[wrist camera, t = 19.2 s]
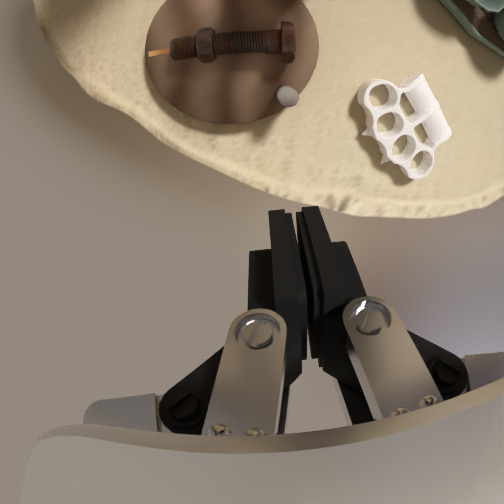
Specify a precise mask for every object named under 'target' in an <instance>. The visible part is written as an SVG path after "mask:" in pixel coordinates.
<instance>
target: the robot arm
mask: <svg viewBox="0 0 504 504" xmlns="http://www.w3.org/2000/svg"><path fill="white" fill-rule="evenodd" d="M268 213H269V226H270V239H271V249H265V250H255V251H250V252H249V279H248V311H246V312H244V313H242V314H241V315H239V316H237V318H235V320H234V321H233V322H232V324H231V325H230V328H229V331H228V334H227V338H226V342H225V346H224V347H222V348H221V349H220V350H219V351H218V352H216V353H215V354H214V355H213V356H211V357H210V358H209V359H208V360H206V361H205V362H204V363H203V364H201V365H200V366H199V367H198V368H196V369H195V370H194V371H193V372H191V373H190V374H189V375H187V376H186V377H185V378H184V379H182V380H181V381H180V382H178V383H177V384H176V385H174V386H173V387H172V388H171V389H169V390H168V391H167V393H165V394H164V395H158V396H157V395H156V394H155V393H152V394H146V395H139V396H131V397H123V398H114V399H105V400H99V401H95V402H93V403H92V404H91V405H90V406H89V407H88V408H87V410H86V411H85V415H84V421H83V424H75V425H65V426H61V427H57V428H54V429H51V430H49V431H47V432H44V433H43V434H41V435H40V436H39V437H38V438H37V439H36V440H35V441H34V443H33V444H32V446H31V448H30V450H29V452H28V455H27V457H26V460H25V463H24V467H23V470H22V474H21V478H20V483H19V489H18V495H17V502H16V504H504V352H498V353H488V354H475V355H465V356H464V358H462V359H460V358H459V357H457V356H456V355H454V354H452V353H451V352H449V351H447V350H445V349H443V348H441V347H439V346H437V345H435V344H433V343H431V342H430V341H428V340H425V339H424V338H422V337H420V336H418V335H416V334H414V333H412V332H410V331H408V330H406V328H405V327H404V325H403V323H402V322H401V320H400V318H399V317H398V315H397V313H396V311H395V310H394V309H393V308H392V306H391V305H390V304H389V303H387V302H386V301H385V300H383V299H380V298H377V297H371V296H367V295H366V292H365V289H364V287H363V284H362V281H361V278H360V276H359V273H358V271H357V268H356V265H355V263H354V260H353V258H352V255H351V253H350V250H349V248H348V246H347V244H346V242H345V241H341V242H331V240H330V237H329V234H328V232H327V229H326V226H325V223H324V220H323V218H322V215H321V212H320V210H319V207H318V206H310V207H302V212H296V223H297V239H298V244H297V239H296V234H295V229H294V225H293V219H292V214H291V213H285V210H284V209H281V210H271V211H269V212H268ZM307 329H308V336H309V343H310V350H311V357H312V359H315V358H318V363H319V367H323V371H325V372H326V373H328V374H329V375H331V376H332V377H333V383H334V385H335V389H336V392H337V394H338V398H339V400H340V404H341V406H342V409H343V413H344V416H345V419H346V422H347V425H348V426H346V427H340V428H334V429H327V430H320V431H312V432H302V433H292V434H286V427H287V419H288V411H289V402H290V393H291V384H292V383H293V382H294V381H295V380H296V378H298V376H299V375H300V374H301V373H302V360H306V358H307Z"/></svg>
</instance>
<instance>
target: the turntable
mask: <svg viewBox="0 0 504 504" xmlns="http://www.w3.org/2000/svg"><path fill="white" fill-rule="evenodd" d="M281 21H290V22H292V23H293V24H294V25H295V33H296V54H295V60H294V61H293V62H292V63H282V61H281V54H266V53H258V52H257V54H256V53H255V52H254V54H253V53H251V54H250V53H248V54H247V53H245V54H244V53H243V54H241V53H240V54H233V53H232V54H229V55H228V54H226V55H225V54H224V55H222V54H221V55H218V56H217V58H216V60H215V61H213V62H212V63H202V62H201V61H200V60H199V59H198V57H196V58H195V57H194V58H189V59H187V58H186V59H181V60H176V61H175V60H173V59H172V57H171V56H170V54H169V50H170V41H171V40H172V39H174V38H179V37H180V38H182V37H185V36H186V37H187V36H192V35H194V36H195V35H196V34H197V31H198V30H200V29H201V28H206V27H211V28H213V29H214V30H215V33H223V32H224V33H225V32H227V33H228V32H231V31H232V33H233V32H234V31H235V32H236V31H238V32H239V31H240V32H241V31H243V32H244V31H246V32H247V31H249V32H250V31H252V32H253V30H254V31H256V30H257V31H259V30H260V31H262V30H263V31H264V30H272V29H276V30H280V27H281ZM318 49H319V44H318V34H317V30H316V26H315V23H314V21H313V18H312V16H311V14H310V13H309V11H308V9H307V8H306V6H305V5H304V4H303V3H302V1H301V0H167V1H166V2H165V3H164V4H163V5H162V6H161V7H160V9H159V10H158V12H157V13H156V15H155V17H154V19H153V21H152V23H151V25H150V28H149V31H148V34H147V39H146V48H145V56H146V63H147V67H148V71H149V74H150V76H151V79H152V81H153V83H154V85H155V86H156V88H157V89H158V91H159V92H160V93H161V94H162V96H163V97H164V98H165V99H166V100H167V101H168V102H169V103H170V104H172V105H173V106H174V107H176V108H177V109H178V110H180V111H181V112H183V113H185V114H187V115H189V116H191V117H194V118H197V119H199V120H203V121H207V122H211V123H218V124H240V123H247V122H252V121H256V120H259V119H262V118H265V117H267V116H269V115H272V114H274V113H276V112H277V111H279V110H281V109H282V108H284V107H285V106H286V107H292V106H294V105H296V104H297V102H298V100H299V94H300V93H301V92H302V90H303V89H304V88H305V86H306V85H307V83H308V82H309V80H310V78H311V76H312V74H313V71H314V69H315V66H316V62H317V58H318Z"/></svg>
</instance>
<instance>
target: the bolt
mask: <svg viewBox="0 0 504 504" xmlns="http://www.w3.org/2000/svg"><path fill="white" fill-rule="evenodd" d="M254 52H255V53H256V54H257V52H258V53H266V54H281V61H282V63H292V62H293V61H294V60H295V54H296V33H295V25H294V24H293V23H292V22H290V21H281V27H280V30H276V29H272V30H264V31H263V30H262V31H260V30H259V31H257V30H256V31H254V30H253V32H252V31H250V32H249V31H247V32H246V31H244V32H243V31H241V32H240V31H239V32H238V31H236V32H235V31H234V32H233V33H232V31H231V32H228V33H227V32H225V33H224V32H223V33H215V30H214V29H213V28H211V27H206V28H201V29H200V30H198V31H197V34H196V35H195V36H194V35H192V36H187V37H186V36H185V37H182V38H180V37H179V38H174V39H172V40H171V41H170V50H169V54H170V56H171V57H172V59H173V60H175V61H176V60H181V59H186V58H187V59H189V58H194V57H195V58H196V57H198V59H199V60H200V61H201V62H202V63H212V62H213V61H215V60H216V58H217V56H218V55H221V54H222V55H224V54H225V55H226V54H228V55H229V54H232V53H233V54H240V53H241V54H243V53H244V54H245V53H247V54H248V53H250V54H251V53H253V54H254Z"/></svg>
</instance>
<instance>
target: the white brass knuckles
mask: <svg viewBox="0 0 504 504" xmlns="http://www.w3.org/2000/svg"><path fill="white" fill-rule="evenodd" d="M382 84H383V85H385V86H386V88H387V89H388V92H389V97H388V100H387V102H386V103H385V104H383V105H380V106H377V107H373V106H372V105H371V103H370V101H369V93H370V91H371V89H372V88H373V87H375V86H378V85H382ZM402 93H405V95H406V97H407V98H408V100H409V102H410V103H411V105H412V107H413V109H414V110H415V111H414V112H413V113H412V114H410V115H409V116H407V117H406V118H405V117H404V115H403V113H402V111H401V110H400V108H399V103H400V96H401V94H402ZM357 102H358V103H359V104H360V105H361V106H362V107H363V109H364V111H365V114H366V123H365V124H366V127H367V128H366V130H365V131H364V132H363V133H362V134H361V135H366V136H371V137H373V138H374V139H375V140H376V141H377V142H378V145H379V150H380V152H382V153H383V155H382V159H381V164H382V163H385V162H388V161H392V162H393V163H394V164H398V165H399V166H400V169H401V171H402V172H403V173H404V174H405V175H406V176H407V177H409V178H411V179H414V180H419V179H422V178H424V177H426V176H427V175H428V174H429V173H430V172H431V170H432V168H433V165H434V152H435V149H436V147H437V146H439V145H440V144H441V143H443V142H445V141H446V140H447V139H448V138H449V137H450V136H451V134H452V133H451V132H452V131H451V128H449V126H448V124H447V122H446V119H445V117H444V115H443V113H442V111H441V109H440V107H439V106H440V105H439V103H438V102H437V101H436V99H435V97H434V95H433V93H432V91H431V89H430V88H429V86H428V84H427V82H426V80H425V77H424V75H423V74H422V73H420V72H418V73H415V74H413V75H411V76H409V77H408V78H406V79H405V80H403V81H402V82H401V83H400V84H399V85H397V86H395V85H394V84H392V83H391V82H388V81H385V80H380V79H369V80H367V81H365V82H363V83H362V84H361V86H360V87H359V89H358V92H357ZM390 112H392V113H393V115H394V117H395V124H394V126H393V128H392V129H390V130H389V131H386V132H382V133H379V132H378V131H377V127H376V124H377V120H378V119H379V117H380V116H381V115H383V114H386V113H390ZM420 123H422V125H423V127H424V129H425V131H426V133H427V135H428V137H427V138H426V139H425V142H424V143H419V142H418V140H417V138H416V136H415V134H414V128H415V127H416V126H417V125H418V124H420ZM402 135H406V137H407V145H406V147H405V148H404V149H403V151H402V152H401V153H400V154H398V155H392V146H393V144H394V143H395V142H396V140H397V139H398V138H399V137H400V136H402ZM420 151H423V154H424V155H423V160H422V161H421V163H420V164H419V165H418V166H417V167H416V168H414V169H410V164H411V161H412V159H413V158H414V156H415V155H416V154H417V153H418V152H420Z"/></svg>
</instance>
